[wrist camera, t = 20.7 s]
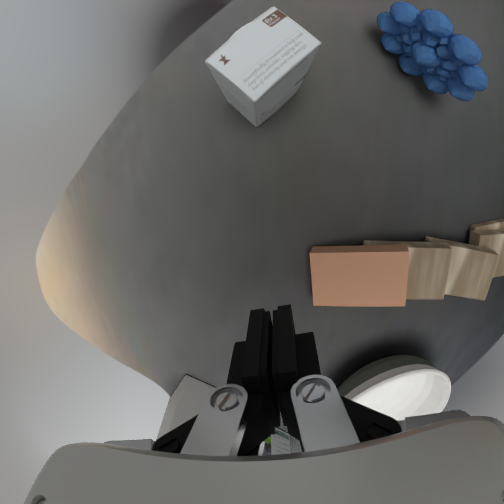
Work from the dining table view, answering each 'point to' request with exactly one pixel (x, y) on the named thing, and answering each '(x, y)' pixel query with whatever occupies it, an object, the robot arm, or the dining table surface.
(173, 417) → the milk carton
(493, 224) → the birch domino
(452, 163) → the dining table surface
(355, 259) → the terracotta domino
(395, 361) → the bowl
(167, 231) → the dining table surface
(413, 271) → the birch domino
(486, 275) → the birch domino
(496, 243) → the birch domino
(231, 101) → the skincare box
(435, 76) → the grapes
